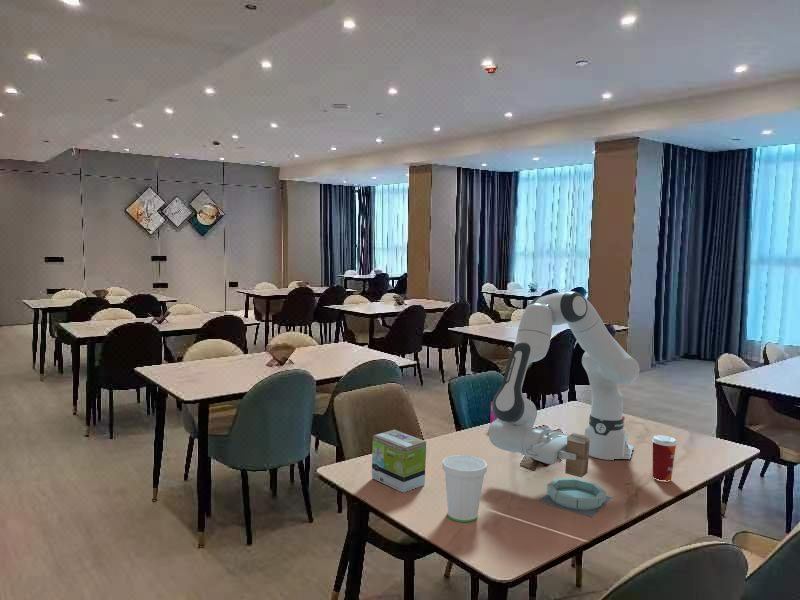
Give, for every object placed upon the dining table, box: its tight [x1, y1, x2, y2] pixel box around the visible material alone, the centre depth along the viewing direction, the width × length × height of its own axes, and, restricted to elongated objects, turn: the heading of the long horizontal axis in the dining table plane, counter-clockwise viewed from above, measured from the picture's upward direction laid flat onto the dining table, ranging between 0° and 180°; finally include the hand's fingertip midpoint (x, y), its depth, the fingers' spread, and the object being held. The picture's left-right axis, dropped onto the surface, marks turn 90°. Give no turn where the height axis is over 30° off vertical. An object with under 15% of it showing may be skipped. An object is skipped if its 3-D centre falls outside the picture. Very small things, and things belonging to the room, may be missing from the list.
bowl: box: [546, 477, 607, 510], centre depth 179 cm, size 16×16×3 cm
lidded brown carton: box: [564, 432, 590, 479], centre depth 178 cm, size 5×5×11 cm
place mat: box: [538, 493, 613, 518], centre depth 179 cm, size 18×16×1 cm
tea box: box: [371, 429, 427, 494], centre depth 188 cm, size 15×10×15 cm, turn 45°
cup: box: [441, 454, 488, 523], centre depth 166 cm, size 12×12×15 cm
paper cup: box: [651, 434, 678, 481], centre depth 198 cm, size 8×8×14 cm
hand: (580, 454), depth 177 cm, fingers closed on lidded brown carton, 5 cm apart
